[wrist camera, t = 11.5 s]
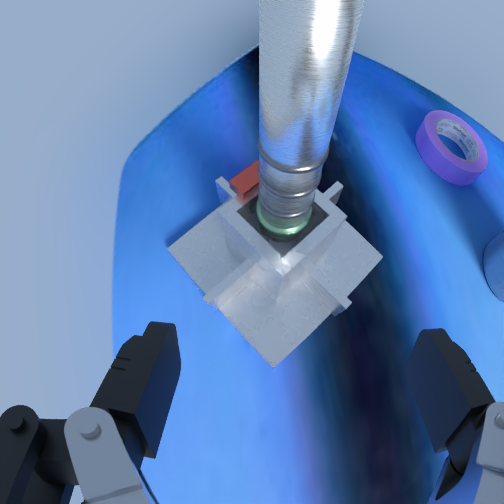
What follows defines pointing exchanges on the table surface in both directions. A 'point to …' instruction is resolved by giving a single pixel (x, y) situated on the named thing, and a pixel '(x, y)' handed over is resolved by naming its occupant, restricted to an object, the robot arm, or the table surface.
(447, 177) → the masking tape
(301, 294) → the jack base
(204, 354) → the table surface
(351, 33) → the cylinder
